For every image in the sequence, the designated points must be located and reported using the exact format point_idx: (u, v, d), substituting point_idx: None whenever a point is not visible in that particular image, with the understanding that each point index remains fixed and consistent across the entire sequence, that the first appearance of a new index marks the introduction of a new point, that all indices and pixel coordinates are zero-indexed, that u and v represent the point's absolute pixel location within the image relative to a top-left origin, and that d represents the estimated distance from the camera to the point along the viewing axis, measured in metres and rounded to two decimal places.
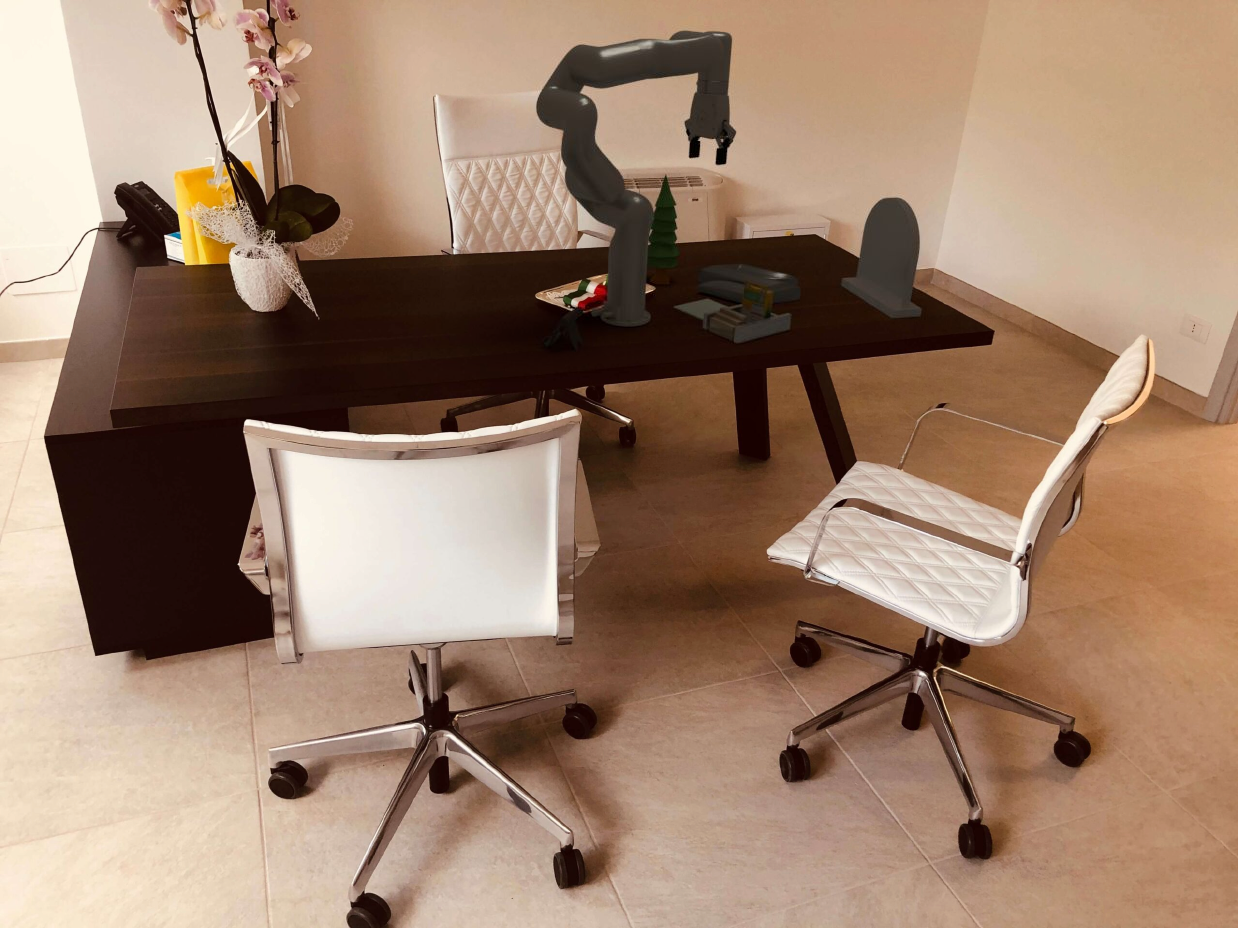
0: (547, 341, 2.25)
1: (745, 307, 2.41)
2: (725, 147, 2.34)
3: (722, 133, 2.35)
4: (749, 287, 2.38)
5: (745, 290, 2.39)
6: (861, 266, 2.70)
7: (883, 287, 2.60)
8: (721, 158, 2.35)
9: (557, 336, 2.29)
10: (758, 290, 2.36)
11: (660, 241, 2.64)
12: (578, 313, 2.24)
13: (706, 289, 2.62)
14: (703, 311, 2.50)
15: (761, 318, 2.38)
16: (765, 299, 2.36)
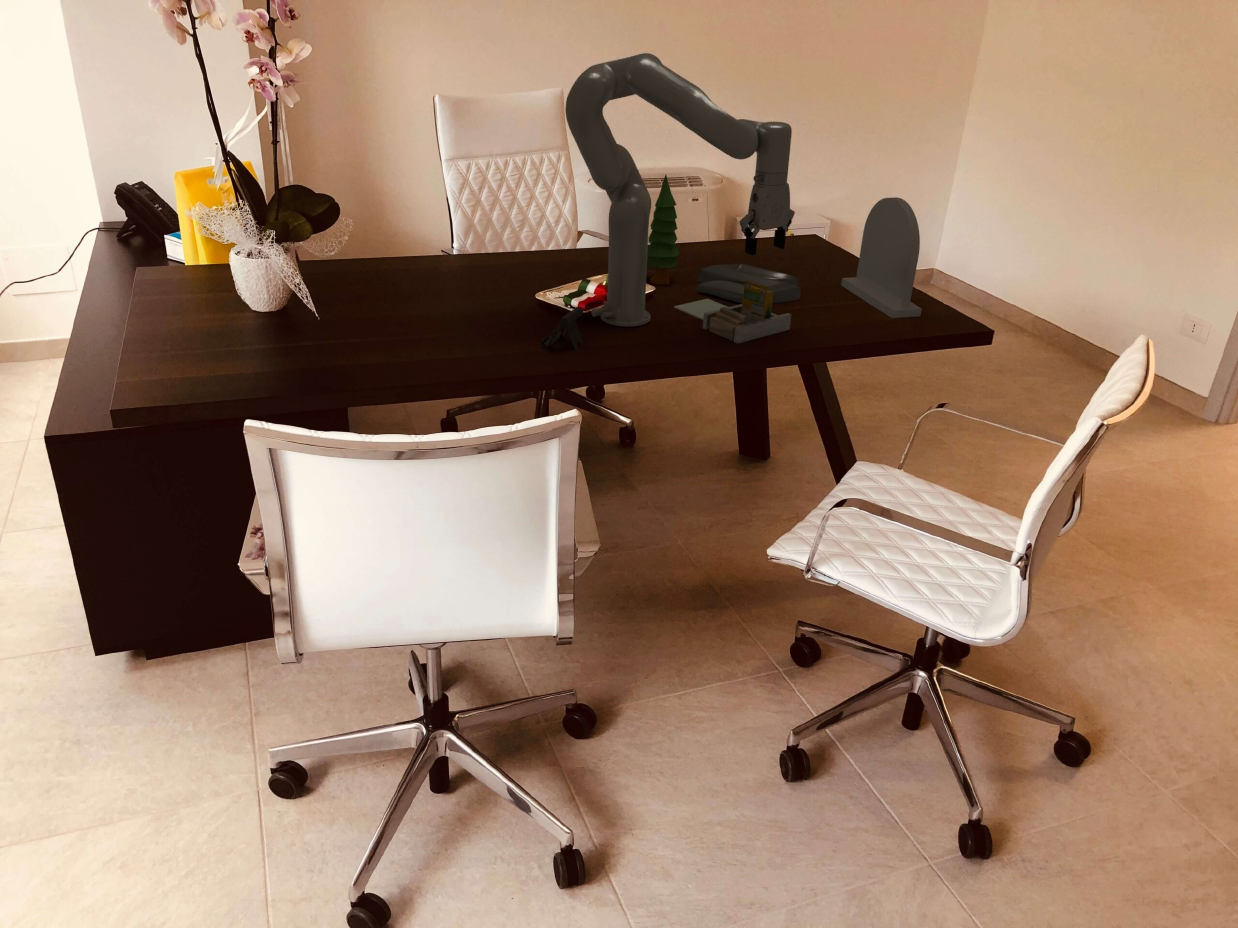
0: (547, 341, 2.25)
1: (745, 307, 2.41)
2: None
3: None
4: (749, 287, 2.38)
5: (745, 290, 2.39)
6: (861, 266, 2.70)
7: (883, 287, 2.60)
8: None
9: (557, 336, 2.29)
10: (758, 290, 2.36)
11: (660, 241, 2.64)
12: (578, 313, 2.24)
13: (706, 289, 2.62)
14: (703, 311, 2.50)
15: (761, 318, 2.38)
16: (765, 299, 2.36)
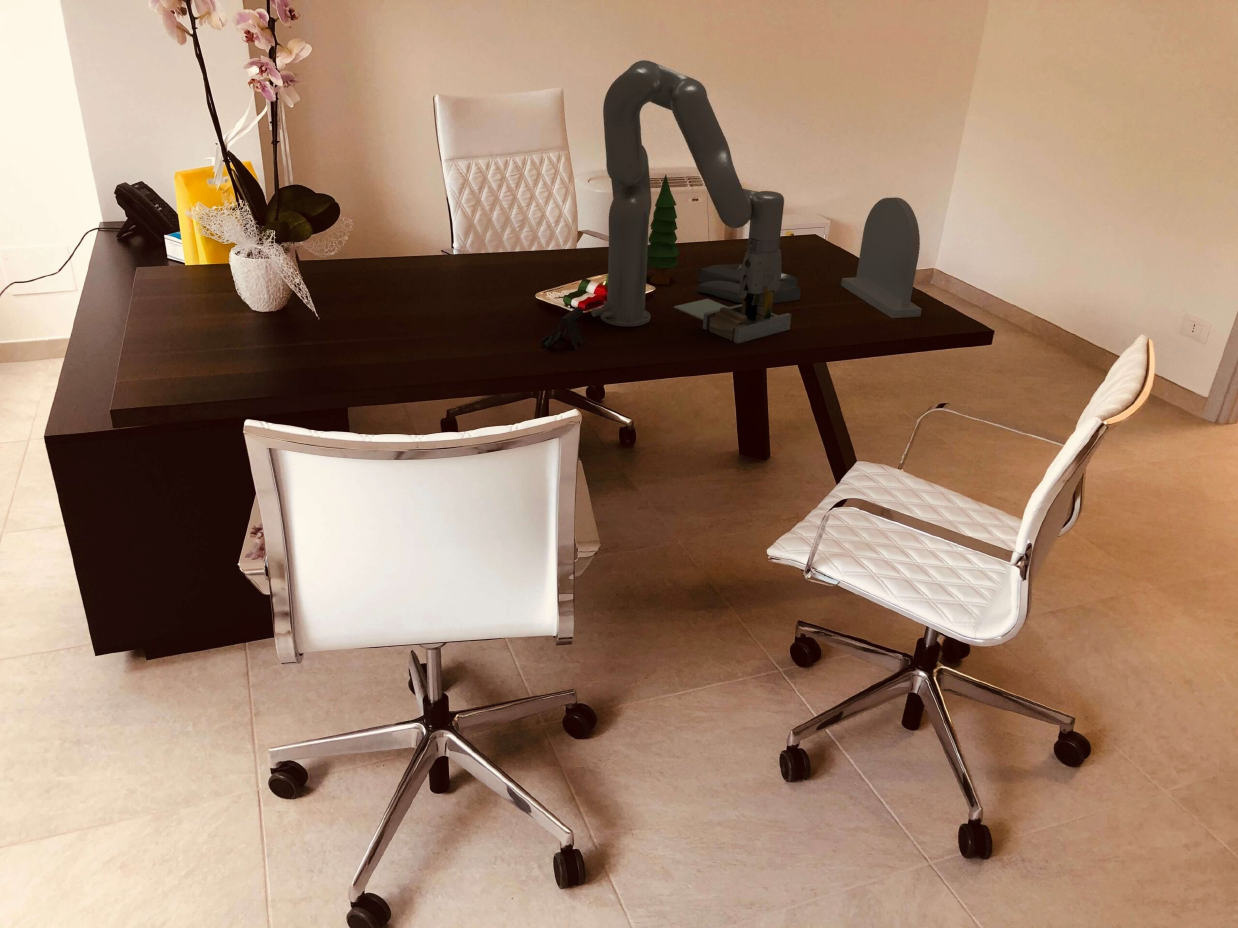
0: (547, 341, 2.25)
1: (745, 307, 2.41)
2: None
3: None
4: None
5: None
6: (861, 266, 2.70)
7: (883, 287, 2.60)
8: None
9: (557, 336, 2.29)
10: None
11: (660, 241, 2.64)
12: (578, 313, 2.24)
13: (706, 289, 2.62)
14: (703, 311, 2.50)
15: (761, 318, 2.38)
16: (764, 299, 2.36)
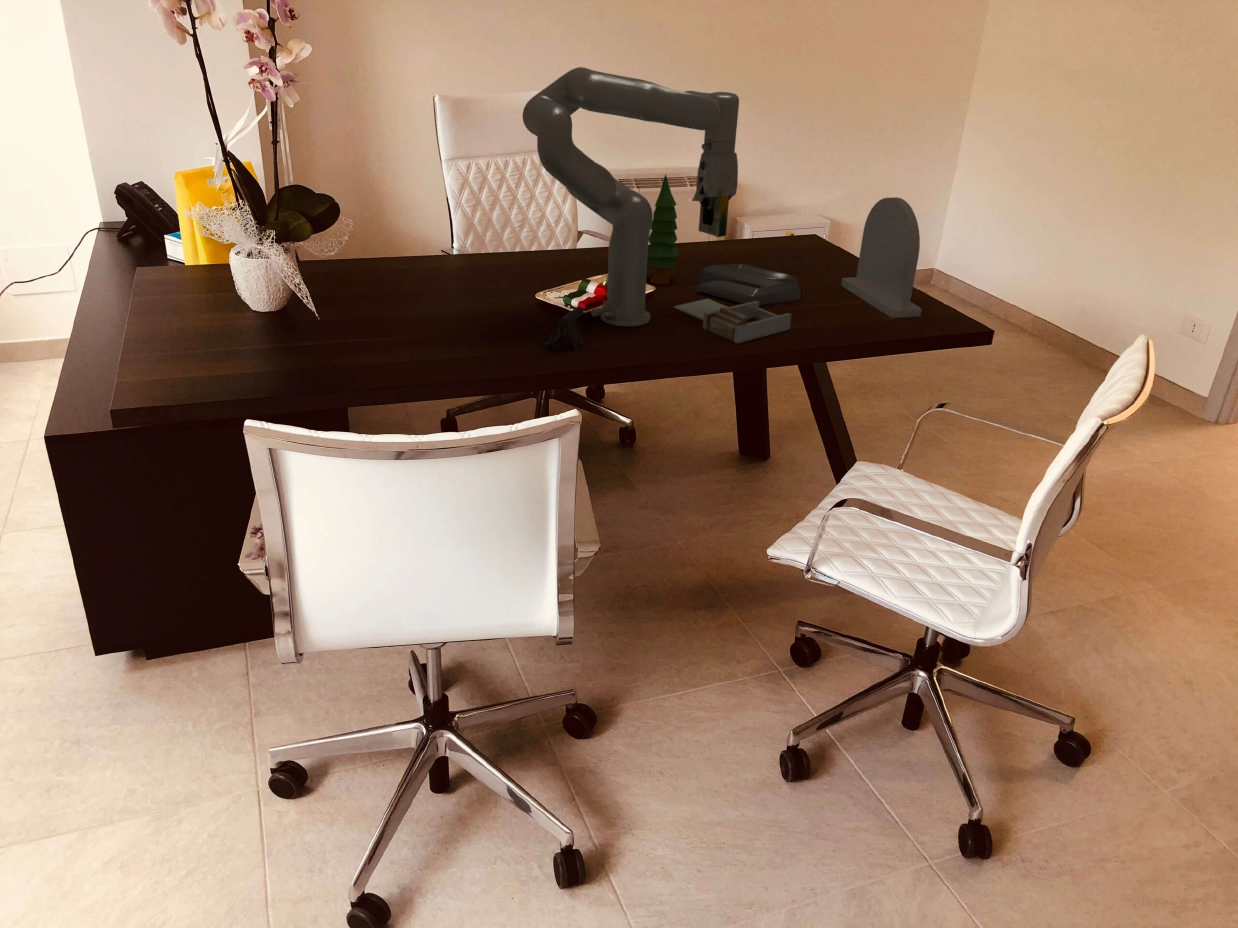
0: (547, 341, 2.25)
1: (702, 213, 2.41)
2: None
3: None
4: None
5: (702, 195, 2.40)
6: (861, 266, 2.70)
7: (883, 287, 2.60)
8: None
9: (557, 336, 2.29)
10: None
11: (660, 241, 2.64)
12: (578, 313, 2.24)
13: (706, 289, 2.62)
14: (703, 311, 2.50)
15: (716, 223, 2.38)
16: (719, 204, 2.36)
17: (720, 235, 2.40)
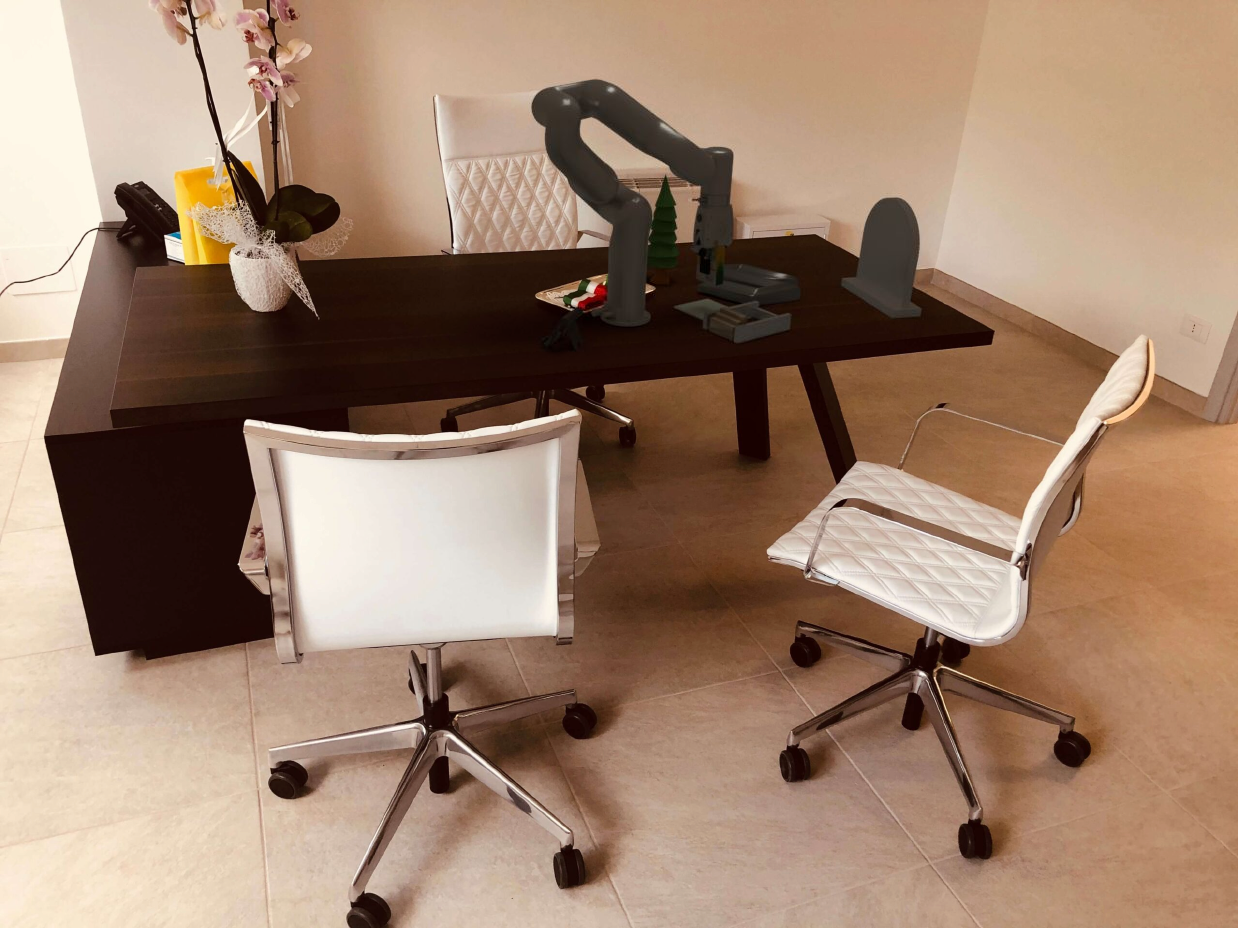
0: (547, 341, 2.25)
1: None
2: None
3: None
4: None
5: (699, 245, 2.46)
6: (861, 266, 2.70)
7: (883, 287, 2.60)
8: None
9: (557, 336, 2.29)
10: None
11: (660, 241, 2.64)
12: (578, 313, 2.24)
13: (706, 289, 2.62)
14: (703, 311, 2.50)
15: (713, 272, 2.44)
16: (716, 254, 2.42)
17: (717, 284, 2.46)
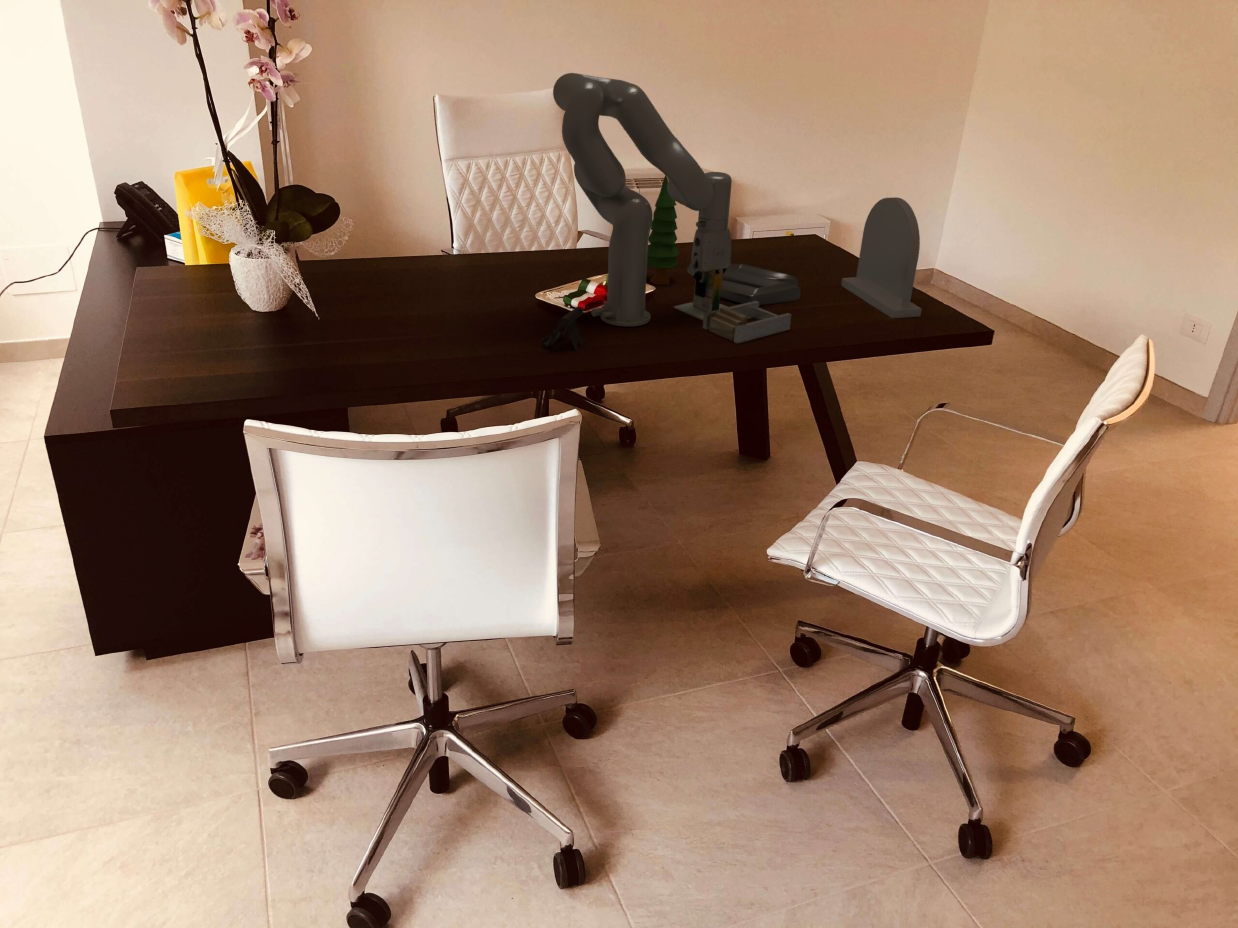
0: (547, 341, 2.25)
1: None
2: None
3: None
4: None
5: None
6: (861, 266, 2.70)
7: (883, 287, 2.60)
8: None
9: (557, 336, 2.29)
10: (708, 272, 2.46)
11: (660, 241, 2.64)
12: (578, 313, 2.24)
13: None
14: (703, 311, 2.50)
15: (710, 300, 2.48)
16: (713, 282, 2.45)
17: None
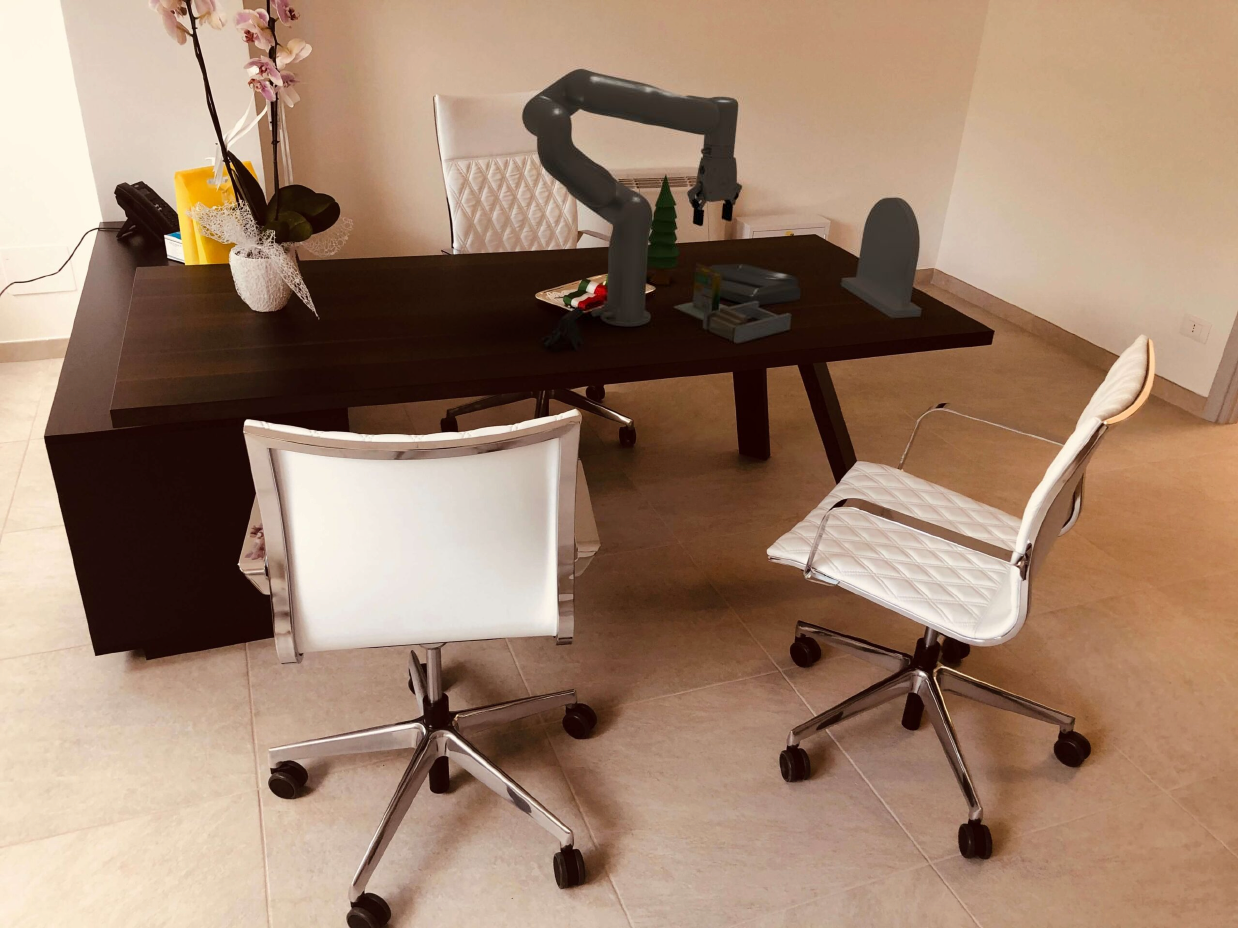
0: (547, 341, 2.25)
1: (696, 289, 2.51)
2: None
3: None
4: (699, 270, 2.48)
5: (696, 273, 2.49)
6: (861, 266, 2.70)
7: (883, 287, 2.60)
8: None
9: (557, 336, 2.29)
10: (707, 273, 2.46)
11: (660, 241, 2.64)
12: (578, 313, 2.24)
13: None
14: (703, 311, 2.50)
15: (709, 300, 2.48)
16: (712, 282, 2.45)
17: None
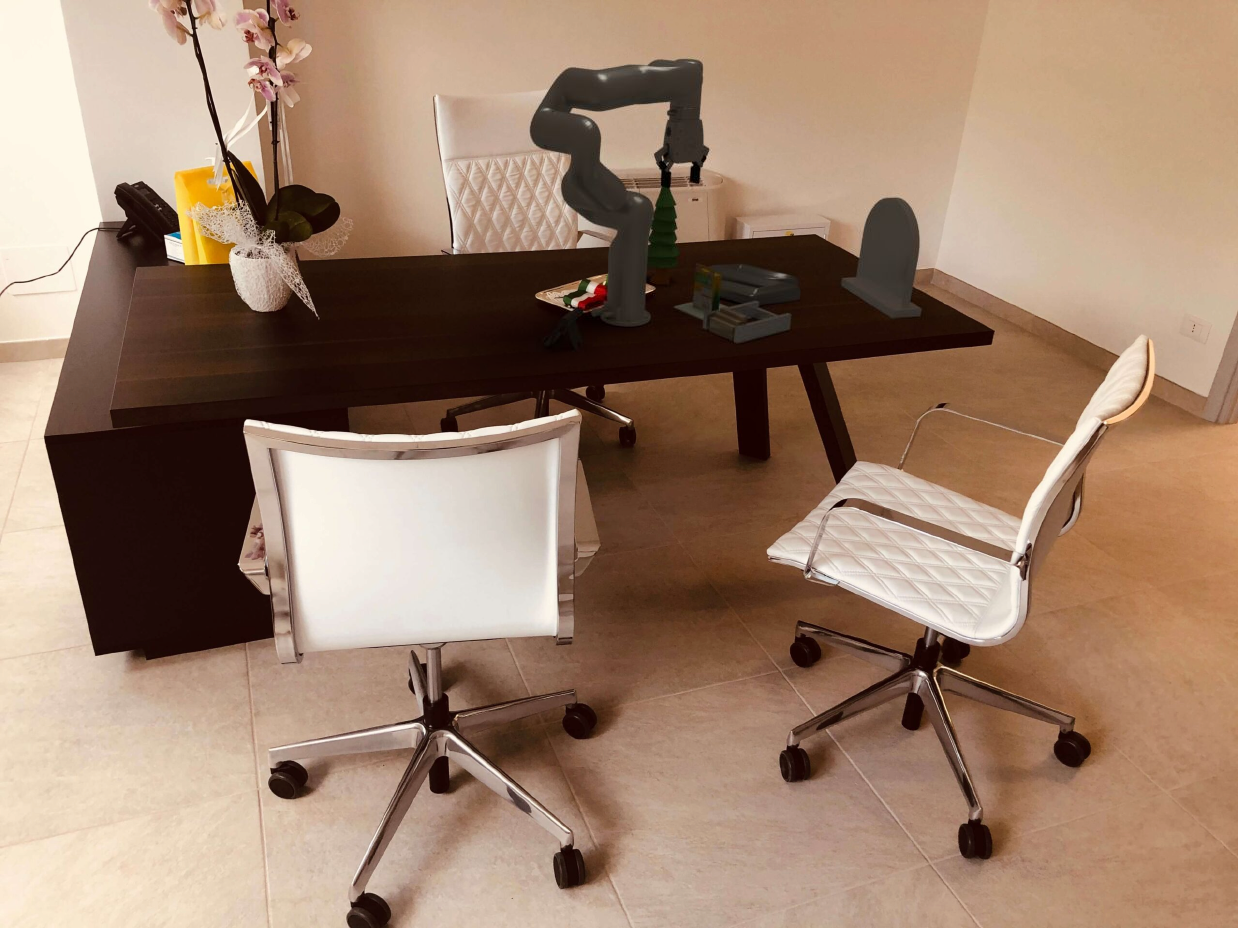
0: (547, 341, 2.25)
1: (696, 289, 2.51)
2: None
3: None
4: (699, 270, 2.48)
5: (696, 273, 2.49)
6: (861, 266, 2.70)
7: (883, 287, 2.60)
8: None
9: (557, 336, 2.29)
10: (707, 273, 2.46)
11: (660, 241, 2.64)
12: (578, 313, 2.24)
13: None
14: (703, 311, 2.50)
15: (709, 300, 2.48)
16: (712, 282, 2.45)
17: None
